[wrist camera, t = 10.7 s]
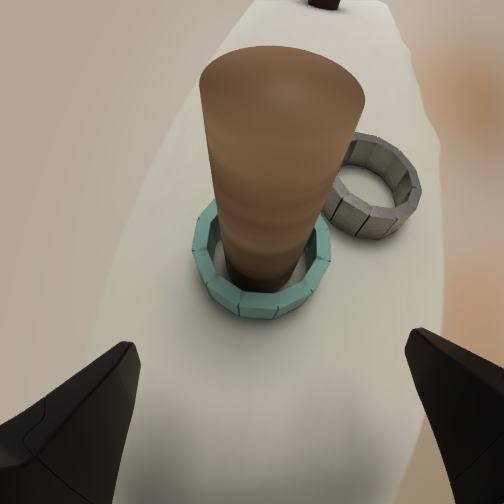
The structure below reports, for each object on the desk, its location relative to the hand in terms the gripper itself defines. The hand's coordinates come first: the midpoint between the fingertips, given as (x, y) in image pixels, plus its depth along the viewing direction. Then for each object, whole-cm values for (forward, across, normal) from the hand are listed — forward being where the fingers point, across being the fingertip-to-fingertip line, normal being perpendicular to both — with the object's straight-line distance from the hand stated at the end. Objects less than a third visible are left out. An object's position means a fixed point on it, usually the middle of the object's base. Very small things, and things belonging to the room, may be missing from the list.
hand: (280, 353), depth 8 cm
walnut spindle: (+10, 0, +1) cm, 10 cm away
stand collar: (+14, -8, -2) cm, 16 cm away
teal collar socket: (+10, 0, +1) cm, 11 cm away
